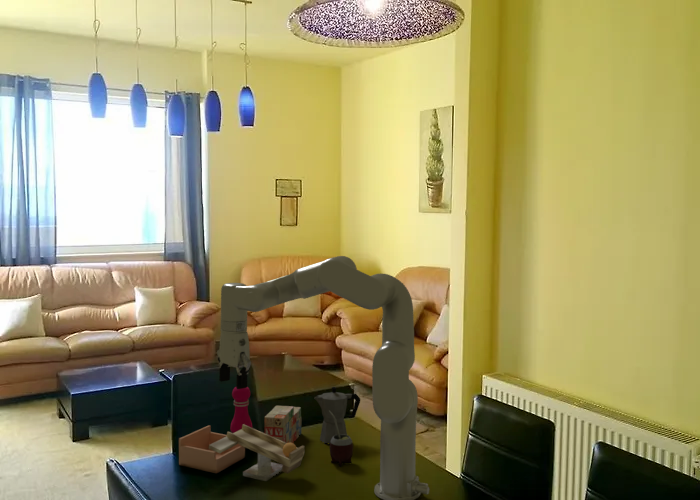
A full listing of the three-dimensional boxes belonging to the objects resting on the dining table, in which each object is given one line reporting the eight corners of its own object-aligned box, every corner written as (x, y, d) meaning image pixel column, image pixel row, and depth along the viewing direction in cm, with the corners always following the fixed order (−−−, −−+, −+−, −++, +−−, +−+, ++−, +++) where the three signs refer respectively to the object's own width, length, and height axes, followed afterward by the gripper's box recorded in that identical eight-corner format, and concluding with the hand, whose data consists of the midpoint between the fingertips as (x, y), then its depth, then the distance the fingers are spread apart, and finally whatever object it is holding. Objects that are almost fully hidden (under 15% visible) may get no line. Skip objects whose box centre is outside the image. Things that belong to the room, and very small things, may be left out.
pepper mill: (226, 441, 221) (225, 382, 219) (239, 435, 227) (239, 377, 226) (243, 445, 217) (243, 385, 216) (256, 438, 224) (256, 380, 223)
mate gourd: (351, 467, 199) (351, 418, 198) (325, 466, 200) (325, 417, 199) (353, 458, 207) (354, 410, 206) (328, 457, 207) (328, 410, 206)
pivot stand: (285, 469, 198) (285, 447, 198) (266, 481, 189) (266, 458, 189) (262, 464, 202) (262, 443, 201) (243, 475, 193) (242, 453, 192)
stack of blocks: (284, 432, 231) (284, 397, 230) (301, 433, 230) (301, 398, 229) (264, 454, 210) (264, 416, 209) (283, 456, 209) (283, 417, 208)
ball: (296, 457, 192) (300, 444, 192) (289, 461, 189) (293, 449, 188) (285, 450, 194) (289, 438, 193) (278, 454, 190) (282, 442, 190)
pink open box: (244, 457, 207) (244, 432, 207) (216, 473, 195) (216, 446, 194) (208, 449, 213) (208, 425, 213) (179, 464, 201) (178, 438, 200)
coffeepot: (314, 445, 218) (314, 391, 217) (313, 435, 227) (313, 383, 226) (361, 444, 219) (361, 390, 218) (358, 434, 228) (359, 382, 227)
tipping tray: (301, 464, 194) (305, 445, 193) (271, 485, 180) (275, 464, 179) (241, 437, 204) (244, 419, 203) (207, 454, 189) (210, 435, 188)
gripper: (261, 329, 188) (260, 389, 190) (230, 320, 202) (229, 376, 203) (237, 332, 184) (236, 393, 185) (207, 322, 197) (207, 379, 198)
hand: (233, 384), depth 194 cm, fingers open, 9 cm apart
